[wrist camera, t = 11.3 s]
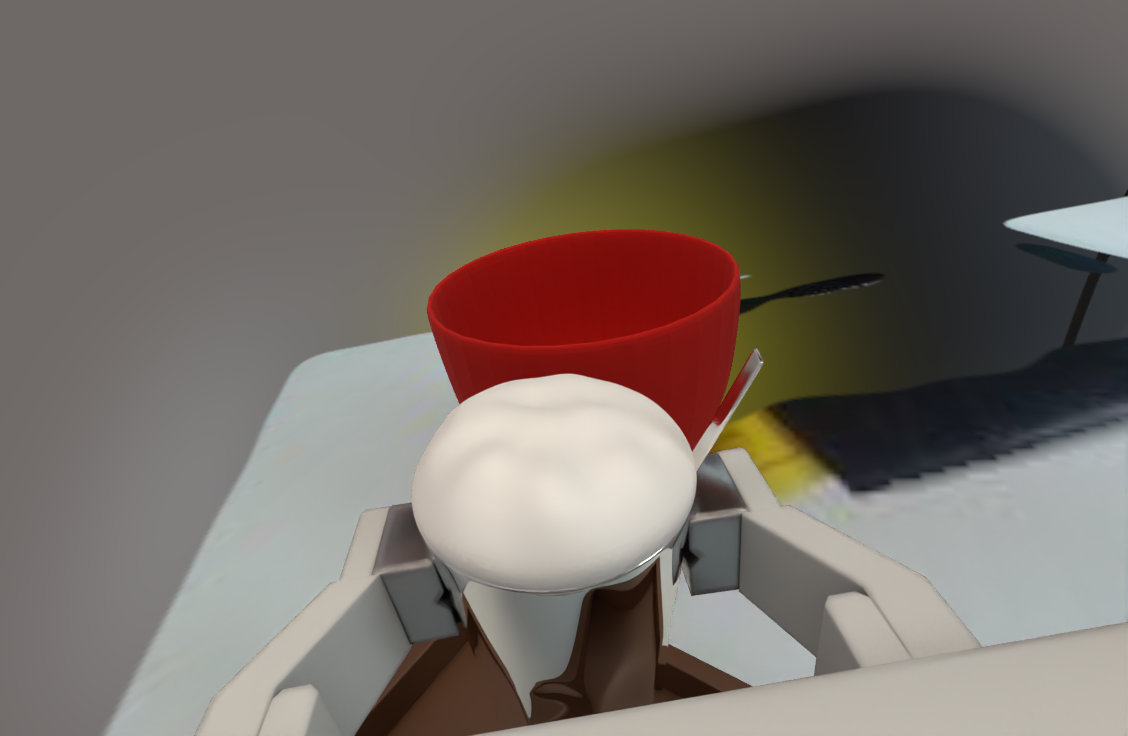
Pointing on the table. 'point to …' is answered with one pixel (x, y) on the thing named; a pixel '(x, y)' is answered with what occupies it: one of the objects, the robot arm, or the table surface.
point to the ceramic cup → (597, 317)
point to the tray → (461, 701)
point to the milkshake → (564, 537)
